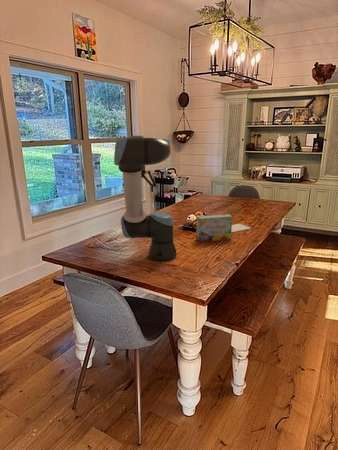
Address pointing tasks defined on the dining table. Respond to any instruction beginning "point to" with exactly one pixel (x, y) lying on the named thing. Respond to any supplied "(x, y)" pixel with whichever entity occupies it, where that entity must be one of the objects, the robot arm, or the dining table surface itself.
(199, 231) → the snack box
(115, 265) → the dining table surface
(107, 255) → the dining table surface
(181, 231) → the dining table surface
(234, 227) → the rest mat
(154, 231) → the robot arm
